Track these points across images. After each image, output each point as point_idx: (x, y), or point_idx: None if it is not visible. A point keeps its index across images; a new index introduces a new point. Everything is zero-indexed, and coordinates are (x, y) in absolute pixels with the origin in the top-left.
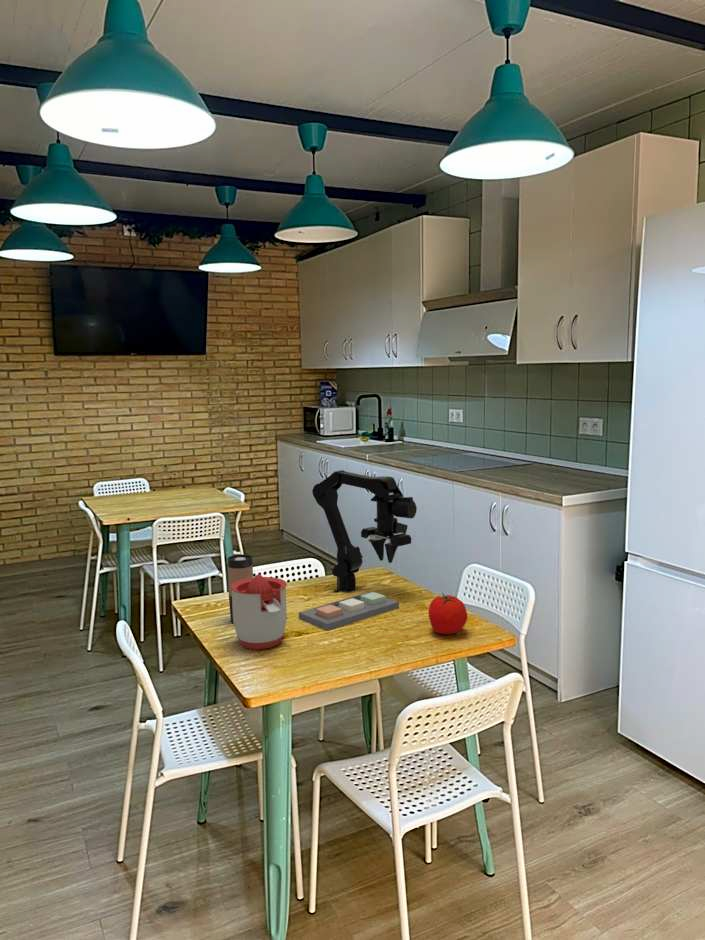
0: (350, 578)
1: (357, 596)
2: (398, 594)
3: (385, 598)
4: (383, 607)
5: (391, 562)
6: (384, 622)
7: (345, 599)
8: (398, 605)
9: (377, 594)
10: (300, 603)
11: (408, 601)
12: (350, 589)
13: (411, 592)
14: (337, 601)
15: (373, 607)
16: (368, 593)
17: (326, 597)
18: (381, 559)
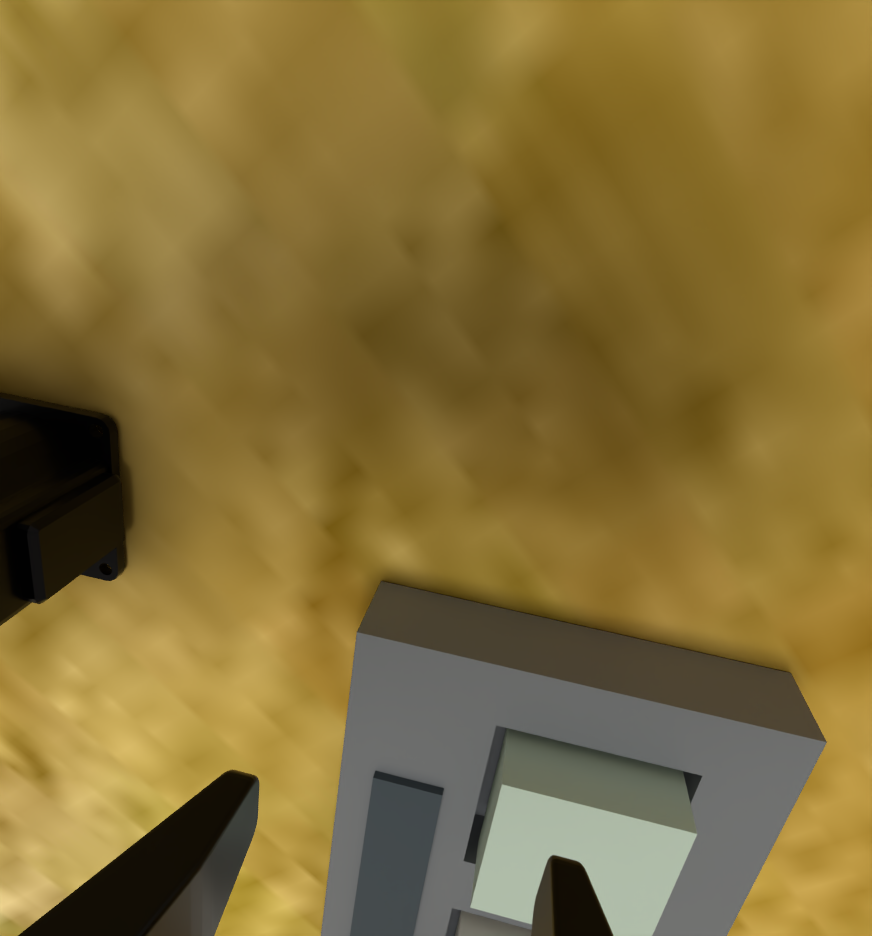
0: (5, 594)
1: (381, 802)
2: (493, 239)
3: (690, 808)
4: (746, 884)
5: (581, 874)
6: (809, 908)
7: (357, 890)
8: (810, 717)
9: (590, 830)
10: (68, 833)
11: (739, 386)
12: (106, 553)
13: (589, 46)
14: (330, 918)
15: (676, 933)
16: (489, 837)
17: (71, 675)
18: (244, 836)
